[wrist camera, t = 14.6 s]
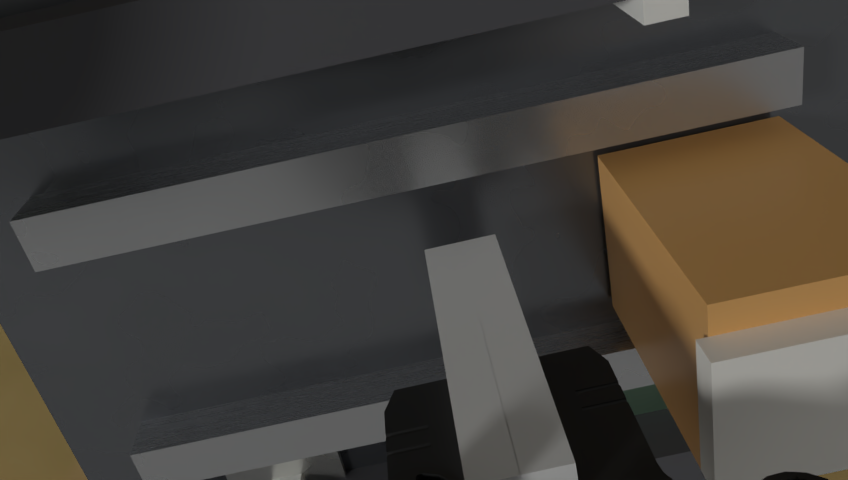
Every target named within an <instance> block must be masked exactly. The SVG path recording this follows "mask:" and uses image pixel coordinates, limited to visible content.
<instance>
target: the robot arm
mask: <svg viewBox="0 0 848 480" xmlns="http://www.w3.org/2000/svg"><path fill="white" fill-rule="evenodd" d="M424 251H425V257H426V263H427V268H428V274H429V280H430V285H431V291H432V297H433V303H434V308H435V314H436V320H437V326H438V331H439V337H440V343H441V348H442V354H443V360H444V366H445V371H446V377H447V379H443V380H438V381H434V382H429V383H424V384H420V385H415V386H411V387H406V388H402V389H397V390H394V392H393V394H392V396H391V398H390V400H389V403H388V405H387V407H386V409H385V411H384V418H385V434H386V452H387V469H388V480H673V479H672V478H671V477H669V476H667V475H666V474H665V473H664V472H663V470H662V469H661V467H660V466H659V464H658V463H657V461H656V459H655V457H654V455H653V453H652V451H651V449H650V447H649V444H648V442H647V440H646V438H645V436H644V434H643V432H642V430H641V428H640V426H639V424H638V422H637V419H636V417H635V415H634V413H633V411H632V409H631V407H630V405H629V403H628V402H627V400H626V396H625V394H624V392H623V390H622V388H621V386H620V385H619V383H618V380H617V378H616V376H615V373H614V371H613V369H612V367H611V365H610V363H609V361H608V360H607V359H605V358H604V357H603V356H601V355H600V354H599V353H598V352H596V351H595V350H594V349H592V348H591V347H590V346H584V347H579V348H575V349H570V350H566V351H561V352H557V353H552V354H548V355H543V356H538V355H537V352H536V349H535V346H534V343H533V341H532V338H531V335H530V332H529V329H528V326H527V324H526V321H525V318H524V315H523V312H522V309H521V306H520V304H519V301H518V298H517V295H516V292H515V289H514V287H513V284H512V281H511V278H510V275H509V272H508V270H507V267H506V264H505V261H504V258H503V255H502V252H501V250H500V247H499V244H498V241H497V238H496V235H495V234H493V235H489V236H484V237H480V238H475V239H471V240H466V241H462V242H457V243H453V244H448V245H444V246H440V247H435V248H431V249H426V250H424ZM762 480H828V479H826V478H822V477H819V476H816V475H813V474H810V473H807V472H786V471H785V472H781V473H777V474H773V475H769V476H767V477H765V478H764V479H762Z"/></svg>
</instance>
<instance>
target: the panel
mask: <svg viewBox="0 0 848 480" xmlns="http://www.w3.org/2000/svg"><path fill="white" fill-rule="evenodd" d="M72 1H77V0H0V18H1V17H6V16H10V15H15V14H19V13H24V12H28V11H32V10H37V9H41V8H46V7H50V6H54V5H59V4H63V3H68V2H72ZM776 116H780V117H781V118H783V119H784V120H786V121H787V122H789V123H790V124H791V125H793V126H794V127H796V128H797V129H799V130H800V131H802V132H803V133H804V134H806V135H807V136H809V137H810V138H812V139H813V140H815V141H816V142H818V143H819V144H820V145H822V146H823V147H825V148H826V149H828V150H829V151H831V152H832V153H833V154H835V155H836V156H838V157H839V158H841V159H842V160H844V161H845V162H847V163H848V0H689V16H685V17H681V18H676V19H672V20H667V21H663V22H658V23H654V24H649V25H645V26H644V25H643V24H641V23H640V22H638V21H637V20H636V19H634V18H633V17H631V16H630V15H628V14H627V13H626V12H624V11H623V10H621V9H620V8H618V7H617V6H616V5H614V4H613V3H612V4H607V5H603V6H598V7H594V8H589V9H585V10H580V11H576V12H571V13H567V14H562V15H558V16H553V17H549V18H544V19H540V20H535V21H531V22H526V23H522V24H517V25H513V26H508V27H504V28H499V29H495V30H490V31H486V32H482V33H477V34H473V35H468V36H464V37H459V38H455V39H450V40H446V41H441V42H437V43H432V44H428V45H423V46H419V47H414V48H410V49H405V50H401V51H396V52H392V53H387V54H383V55H378V56H374V57H369V58H365V59H360V60H356V61H351V62H347V63H342V64H338V65H333V66H329V67H324V68H320V69H315V70H311V71H306V72H302V73H297V74H293V75H288V76H284V77H279V78H275V79H271V80H266V81H262V82H257V83H253V84H248V85H244V86H239V87H235V88H230V89H226V90H221V91H217V92H212V93H208V94H203V95H199V96H194V97H190V98H185V99H181V100H176V101H172V102H167V103H163V104H158V105H154V106H149V107H145V108H140V109H136V110H131V111H127V112H122V113H118V114H113V115H109V116H104V117H100V118H95V119H91V120H86V121H82V122H77V123H73V124H68V125H64V126H59V127H55V128H51V129H46V130H42V131H37V132H33V133H28V134H24V135H19V136H15V137H10V138H6V139H1V140H0V324H1V326H2V327H3V329H4V331H5V333H6V334H7V336H8V338H9V340H10V342H11V343H12V345H13V347H14V349H15V350H16V352H17V354H18V356H19V358H20V359H21V361H22V363H23V365H24V366H25V368H26V370H27V372H28V374H29V375H30V377H31V379H32V381H33V382H34V384H35V386H36V388H37V390H38V391H39V393H40V395H41V397H42V398H43V400H44V402H45V404H46V406H47V407H48V409H49V411H50V413H51V414H52V416H53V418H54V420H55V422H56V423H57V425H58V427H59V429H60V430H61V432H62V434H63V436H64V438H65V439H66V441H67V443H68V445H69V447H70V448H71V450H72V452H73V454H74V455H75V457H76V459H77V461H78V463H79V464H80V466H81V468H82V470H83V471H84V473H85V475H86V477H87V479H88V480H274V479H279V478H284V477H289V476H293V475H298V474H302V477H303V480H330V479H334V478H339V477H344V476H346V470H351V469H356V468H361V467H365V466H370V465H375V464H380V463H384V462H387V452H386V434H385V418H384V411H385V409H386V407H387V405H388V403H389V400H390V398H391V396H392V394H393V392H394V390H397V389H402V388H406V387H411V386H415V385H420V384H424V383H429V382H434V381H438V380H443V379H447V377H446V371H445V366H444V360H443V354H442V348H441V343H440V337H439V331H438V326H437V320H436V314H435V308H434V303H433V297H432V291H431V285H430V280H429V274H428V268H427V263H426V257H425V251H424V250H426V249H431V248H435V247H440V246H444V245H448V244H453V243H457V242H462V241H466V240H471V239H475V238H480V237H484V236H489V235H493V234H495V235H496V238H497V241H498V244H499V247H500V250H501V252H502V255H503V258H504V261H505V264H506V267H507V270H508V272H509V275H510V278H511V281H512V284H513V287H514V289H515V292H516V295H517V298H518V301H519V304H520V306H521V309H522V312H523V315H524V318H525V321H526V324H527V326H528V329H529V332H530V335H531V338H532V341H533V343H534V346H535V349H536V352H537V355H538V356H543V355H548V354H552V353H557V352H561V351H566V350H570V349H575V348H579V347H584V346H590V347H591V348H592V349H594V350H595V351H596V352H598V353H599V354H600V355H601V356H603V357H604V358H605V359H607V360H608V361H609V363H610V365H611V367H612V369H613V371H614V373H615V376H616V378H617V380H618V383H619V385H620V386H621V388H622V390H623V392H624V394H625V396H626V400H627V402H628V403H629V405H630V407H631V409H632V411H633V413H634V415H638V414H643V413H648V412H653V411H657V410H662V409H667V406H666V404H665V402H664V400H663V398H662V397H661V395H660V393H659V391H658V389H657V387H656V385H655V384H654V382H653V380H652V378H651V376H650V374H649V372H648V371H647V369H646V367H645V365H644V363H643V361H642V359H641V358H640V356H639V354H638V352H637V350H636V348H635V346H634V345H633V343H632V341H631V339H630V337H629V335H628V333H627V332H626V330H625V328H624V326H623V324H622V322H621V320H620V319H619V317H618V315H617V313H616V311H615V309H614V307H613V305H612V295H611V285H610V275H609V265H608V255H607V245H606V235H605V226H604V216H603V206H602V196H601V186H600V176H599V166H598V157H597V156H598V155H602V154H607V153H611V152H616V151H620V150H625V149H630V148H634V147H639V146H643V145H648V144H652V143H657V142H662V141H666V140H671V139H675V138H680V137H685V136H689V135H694V134H698V133H703V132H707V131H712V130H717V129H721V128H726V127H730V126H735V125H739V124H744V123H749V122H753V121H758V120H762V119H767V118H772V117H776Z"/></svg>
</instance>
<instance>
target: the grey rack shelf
mask: <svg viewBox="0 0 848 480" xmlns="http://www.w3.org/2000/svg"><path fill="white" fill-rule="evenodd" d="M612 3H613V4H614V5H616V6H617V7H618V8H620V9H621V10H623V11H624V12H626V13H627V14H628V15H630V16H631V17H633V18H634V19H636V20H637V21H638V22H640V23H641V24H643V25H644V26H645V25H649V24H654V23H658V22H663V21H667V20H672V19H676V18H681V17H685V16H689V0H77V1H72V2H68V3H63V4H59V5H54V6H50V7H46V8H41V9H37V10H32V11H28V12H24V13H19V14H15V15H10V16H6V17H1V18H0V140H1V139H6V138H10V137H15V136H19V135H24V134H28V133H33V132H37V131H42V130H46V129H51V128H55V127H59V126H64V125H68V124H73V123H77V122H82V121H86V120H91V119H95V118H100V117H104V116H109V115H113V114H118V113H122V112H127V111H131V110H136V109H140V108H145V107H149V106H154V105H158V104H163V103H167V102H172V101H176V100H181V99H185V98H190V97H194V96H199V95H203V94H208V93H212V92H217V91H221V90H226V89H230V88H235V87H239V86H244V85H248V84H253V83H257V82H262V81H266V80H271V79H275V78H279V77H284V76H288V75H293V74H297V73H302V72H306V71H311V70H315V69H320V68H324V67H329V66H333V65H338V64H342V63H347V62H351V61H356V60H360V59H365V58H369V57H374V56H378V55H383V54H387V53H392V52H396V51H401V50H405V49H410V48H414V47H419V46H423V45H428V44H432V43H437V42H441V41H446V40H450V39H455V38H459V37H464V36H468V35H473V34H477V33H482V32H486V31H490V30H495V29H499V28H504V27H508V26H513V25H517V24H522V23H526V22H531V21H535V20H540V19H544V18H549V17H553V16H558V15H562V14H567V13H571V12H576V11H580V10H585V9H589V8H594V7H598V6H603V5H607V4H612ZM635 417H636V419H637V422H638V424H639V426H640V428H641V430H642V432H643V434H644V436H645V438H646V440H647V442H648V444H649V447H650V449H651V451H652V453H653V455H654V457H655V459H656V461H657V463H658V464H659V466H660V467H661V469H662V470H663V472H664V473H665V474H666V475H667V476H669V477H671V478H672V479H673V480H706V479H705V477H704V475H703V473H702V471H701V469H700V467H699V465H698V463H697V462H696V460H695V458H694V456H693V454H692V452H691V450H690V449H689V447H688V445H687V443H686V441H685V439H684V437H683V436H682V434H681V432H680V430H679V428H678V426H677V424H676V423H675V421H674V419H673V417H672V415H671V413H670V411H669V410H668V408H667V409H662V410H657V411H653V412H648V413H643V414H638V415H635ZM274 480H303V477H302V474H298V475H293V476H289V477H284V478H279V479H274ZM330 480H388V469H387V462H384V463H380V464H375V465H370V466H365V467H361V468H356V469H351V470H346V476H344V477H339V478H334V479H330Z"/></svg>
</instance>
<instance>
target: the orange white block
mask: <svg viewBox="0 0 848 480" xmlns="http://www.w3.org/2000/svg"><path fill="white" fill-rule="evenodd" d="M597 157H598V166H599V176H600V186H601V196H602V206H603V216H604V226H605V235H606V245H607V255H608V265H609V275H610V285H611V295H612V305H613V307H614V309H615V311H616V313H617V315H618V317H619V319H620V320H621V322H622V324H623V326H624V328H625V330H626V332H627V333H628V335H629V337H630V339H631V341H632V343H633V345H634V346H635V348H636V350H637V352H638V354H639V356H640V358H641V359H642V361H643V363H644V365H645V367H646V369H647V371H648V372H649V374H650V376H651V378H652V380H653V382H654V384H655V385H656V387H657V389H658V391H659V393H660V395H661V397H662V398H663V400H664V402H665V404H666V406H667V408H668V410H669V411H670V413H671V415H672V417H673V419H674V421H675V423H676V424H677V426H678V428H679V430H680V432H681V434H682V436H683V437H684V439H685V441H686V443H687V445H688V447H689V449H690V450H691V452H692V454H693V456H694V458H695V460H696V462H697V463H698V465H699V467H700V469H701V471H702V473H703V475H704V477H705V479H706V480H762V479H764V478H765V477H767V476H769V475H773V474H777V473H781V472H785V471H786V472H807V473H810V474H813V475H816V476H817V475H822V474H827V473H832V472H836V471H841V470H846V469H848V163H847V162H845V161H844V160H842V159H841V158H839V157H838V156H836V155H835V154H833V153H832V152H831V151H829V150H828V149H826V148H825V147H823V146H822V145H820V144H819V143H818V142H816V141H815V140H813V139H812V138H810V137H809V136H807V135H806V134H804V133H803V132H802V131H800V130H799V129H797V128H796V127H794V126H793V125H791V124H790V123H789V122H787V121H786V120H784V119H783V118H781V117H780V116H776V117H772V118H767V119H762V120H758V121H753V122H749V123H744V124H739V125H735V126H730V127H726V128H721V129H717V130H712V131H707V132H703V133H698V134H694V135H689V136H685V137H680V138H675V139H671V140H666V141H662V142H657V143H652V144H648V145H643V146H639V147H634V148H630V149H625V150H620V151H616V152H611V153H607V154H602V155H598V156H597Z"/></svg>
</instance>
